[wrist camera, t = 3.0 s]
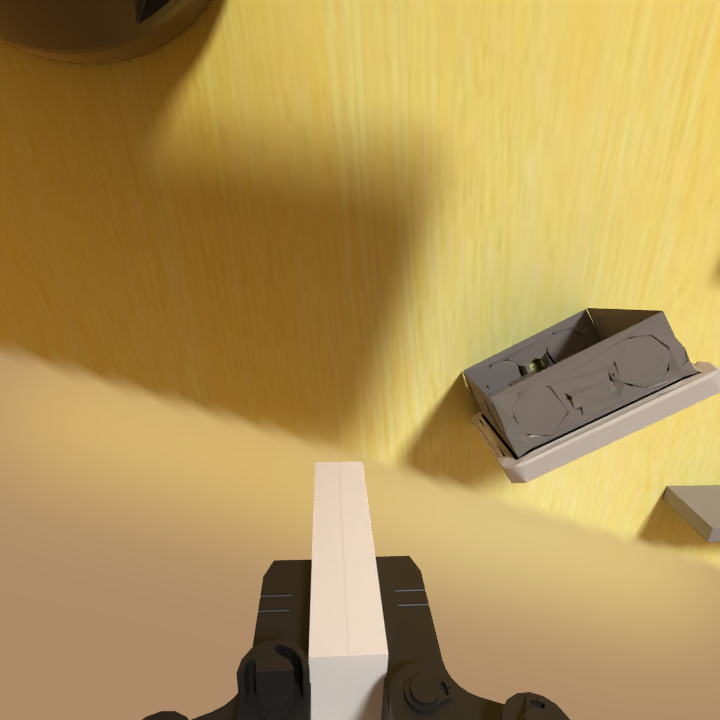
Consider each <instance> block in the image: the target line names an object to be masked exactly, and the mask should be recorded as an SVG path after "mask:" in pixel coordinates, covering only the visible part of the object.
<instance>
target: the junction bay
mask: <svg viewBox="0 0 720 720" xmlns="http://www.w3.org/2000/svg"><path fill="white" fill-rule="evenodd" d="M663 499H664V500H665V501H666V502H667V503H668V504H669V505H670V506H671V507H672V508H673V509H674V510H675V511H676V512H677V513H678V514H679V515H680V516H681V517H682V518H683V519H684V520H685V521H687V522H688V523H689V524H690V525H691V526H692V527H693V528H694V529H695V530H696V531H697V532H698V533H699V534H700V535H701V536H702V537H703V538H704V539H705V540H706V541H707V542H720V486H667V488H666V491H665V495H664V498H663Z"/></svg>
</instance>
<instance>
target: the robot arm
mask: <svg viewBox="0 0 720 720" xmlns="http://www.w3.org/2000/svg"><path fill="white" fill-rule="evenodd" d="M211 1H212V0H0V41H1V42H3V43H6V44H8V45H10V46H13V47H15V48H18V49H20V50H23V51H25V52H28V53H31V54H34V55H37V56H40V57H44V58H48V59H52V60H57V61H62V62H68V63H79V64H102V63H112V62H118V61H123V60H127V59H131V58H135V57H137V56H140V55H143V54H146V53H148V52H150V51H152V50H155V49H157V48H159V47H160V46H162V45H164V44H166V43H167V42H169V41H171V40H172V39H173V38H175V37H176V36H178V35H179V34H180V33H182V32H183V31H184V30H185V29H186V28H187V27H189V26H190V25H191V24H192V23H193V22H194V21H195V20H196V19H197V18H198V17H199V16H200V15H201V13H202V12H203V11H204V10H205V8H206V7H207V6H208V5H209V3H210V2H211ZM237 681H238V694H237V695H236V696H235V697H234V698H233V699H232V700H231V701H230V702H228V703H227V704H226V705H224V706H223V707H221V708H219V709H217V710H215V711H213V712H211V713H208V714H205V715H203V716H200V717H198V718H195V719H192V720H570V719H569V718H568V717H567V716H566V715H565V713H564V712H563V711H562V710H561V709H560V708H559V707H558V706H557V705H556V704H555V703H553V702H551V701H550V700H549V699H547V698H545V697H544V696H541V695H538V694H534V693H530V692H526V693H517V694H515V695H514V696H512V697H510V698H509V699H507V701H506V703H505V704H501V703H497V702H494V701H491V700H488V699H484V698H481V697H478V696H476V695H473V694H471V693H469V692H467V691H466V690H464V689H463V688H461V687H460V686H459V685H458V684H457V683H456V682H454V680H453V679H452V678H451V677H450V675H449V674H448V672H447V670H446V669H445V666H444V663H443V661H442V657H441V653H440V649H439V645H438V640H437V636H436V632H435V628H434V624H433V620H432V616H431V612H430V608H429V605H428V599H427V595H426V592H425V587H424V583H423V579H422V574H421V571H420V569H419V568H418V567H417V566H416V564H415V563H414V562H413V560H412V559H411V558H410V556H390V557H375V551H374V543H373V536H372V528H371V520H370V513H369V505H368V498H367V490H366V483H365V475H364V468H363V461H359V462H315V484H314V513H313V542H312V560H282V561H281V560H280V561H273V563H272V564H271V566H270V568H269V569H268V571H267V572H266V574H265V575H264V577H263V583H262V590H261V598H260V603H259V610H258V616H257V622H256V629H255V635H254V642H253V648H251V649H250V651H249V652H248V653H247V654H246V655H245V656H244V658H243V659H242V660H241V663H240V665H239V668H238V671H237ZM143 720H188V718H187V717H186V716H183V715H181V714H179V713H177V712H176V711H161V712H158V713H156V714H153V715H150V716H147V717H145V718H144V719H143Z"/></svg>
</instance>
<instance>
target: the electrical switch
mask: <svg viewBox="0 0 720 720" xmlns="http://www.w3.org/2000/svg"><path fill="white" fill-rule="evenodd" d="M587 309H588V312H589V314H590V316H591V318H592V320H591V318H590V316H589V314H588V313H587V311H586V310H583V311H581V312H579V313H577V314H575V315H573V316H571V317H569V318H567V319H565V320H563V321H561V322H559V323H557V324H555V325H553V326H551V327H549V328H547V329H545V330H544V331H542V332H540V333H538V334H536V335H534V336H532V337H530V338H528V339H526V340H524V341H522V342H520V343H518V344H516V345H514V346H512V347H510V348H508V349H506V350H504V351H502V352H500V353H498V354H496V355H494V356H492V357H490V358H488V359H486V360H484V361H482V362H480V363H478V364H476V365H474V366H472V367H470V368H468V369H466V370H464V372H463V373H464V375H465V377H466V379H467V381H468V383H469V386H470V388H471V390H472V391H471V395H472V396H473V397H474V398H475V399H476V401H477V403H478V405H479V407H480V409H481V411H479V412H477V413H475V415H474V416H473V417H472V418H471V421H472V423H473V424H474V426H475V428H476V429H477V431H478V432H479V434H480V435H481V437H482V438H483V440H484V441H485V443H486V444H487V446H488V447H489V449H490V450H491V452H492V453H493V455H494V457H495V458H496V460H497V461H498V463H499V464H500V466H501V467H502V469H503V470H504V472H505V473H506V475H507V476H508V478H509V479H510V481H511V482H512V483H526V482H528V481H531V480H533V479H535V478H537V477H539V476H541V475H543V474H546V473H548V472H550V471H552V470H554V469H556V468H558V467H561V466H563V465H565V464H567V463H569V462H571V461H573V460H576V459H578V458H580V457H582V456H584V455H586V454H588V453H591V452H593V451H595V450H597V449H599V448H601V447H603V446H606V445H608V444H610V443H612V442H614V441H616V440H619V439H621V438H623V437H625V436H627V435H629V434H631V433H634V432H636V431H638V430H640V429H642V428H644V427H646V426H649V425H651V424H653V423H655V422H657V421H659V420H661V419H664V418H666V417H668V416H670V415H672V414H674V413H676V412H679V411H681V410H683V409H685V408H687V407H689V406H692V405H694V404H696V403H698V402H700V401H702V400H704V399H707V398H709V397H711V396H713V395H715V394H717V393H719V392H720V370H719V368H718V367H717V366H715V365H713V364H711V363H707V362H697V363H696V364H691V362H690V361H689V358H688V355H687V352H686V350H685V348H684V347H683V346H682V344H681V343H680V342H679V341H678V340H677V339H676V338H675V336H674V333H673V331H672V329H671V327H670V325H669V323H668V321H667V319H666V317H665V315H664V312H663V311H652V310H624V309H597V308H587ZM592 321H593V322H592ZM593 323H594V324H593ZM594 325H595V326H594ZM577 331H578V332H579V333H578V332H577ZM552 333H554V334H553V335H552ZM547 348H548V353H549V354H550V356H551V357H552V359H553V360H554V362H555V363H556V364H554V363H553V362H552V361H551V360H550V358H549V357H548V355H547V353H546V351H547ZM507 359H508V360H510V361H504V360H507ZM536 359H541V360H542V361H543V363H544V364H545V365H546V367H547V368H546V369H544V370H542V371H540V372H534V371H533V372H531V370H530V367H529V364H530V363H531V362H532V361H533V360H536ZM515 363H516V364H518V365H519V366H520V367H521V369H522V371H523V376H522V377H521V374H520V371H519V368H518V366H517V365H516V364H515ZM491 364H492V366H491V367H490V365H491ZM487 385H488V387H489V389H488V388H487Z"/></svg>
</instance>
